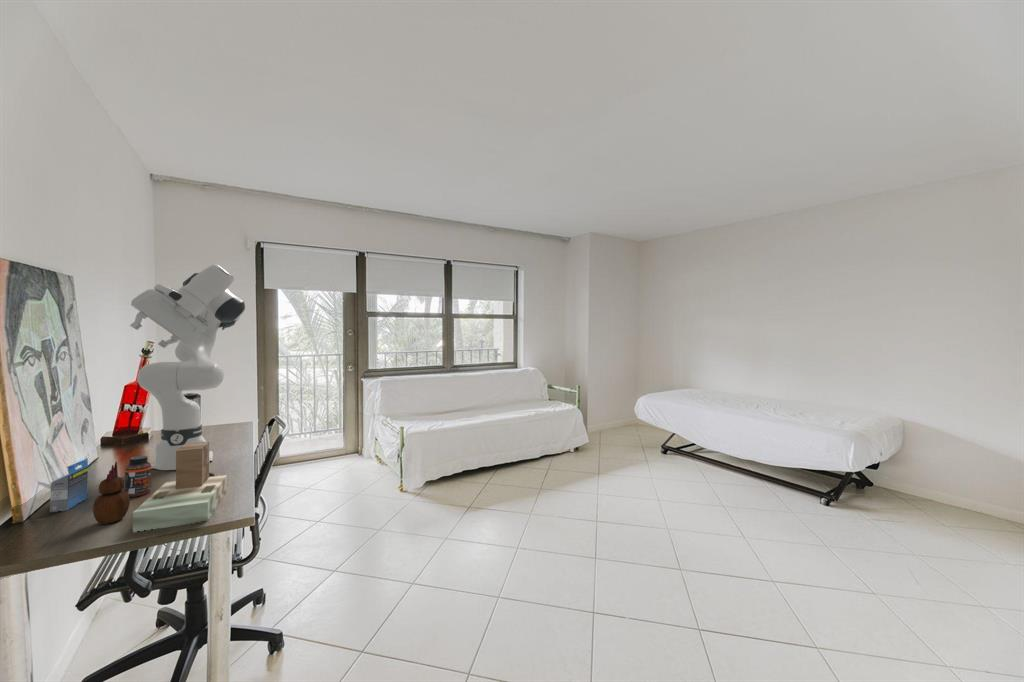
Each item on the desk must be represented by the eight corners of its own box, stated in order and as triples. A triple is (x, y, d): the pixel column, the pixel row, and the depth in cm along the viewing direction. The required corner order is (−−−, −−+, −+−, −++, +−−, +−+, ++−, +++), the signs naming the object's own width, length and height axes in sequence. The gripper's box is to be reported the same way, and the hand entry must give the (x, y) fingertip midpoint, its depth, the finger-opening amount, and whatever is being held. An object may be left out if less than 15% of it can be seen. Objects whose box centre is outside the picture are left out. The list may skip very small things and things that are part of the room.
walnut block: (184, 480, 120) (184, 443, 120) (209, 477, 123) (209, 441, 123) (175, 489, 113) (176, 450, 113) (201, 486, 116) (202, 448, 116)
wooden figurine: (114, 515, 107) (114, 459, 107) (134, 515, 107) (135, 460, 107) (86, 527, 101) (86, 467, 101) (108, 527, 100) (108, 468, 100)
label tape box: (70, 500, 117) (70, 459, 117) (88, 498, 118) (88, 457, 118) (48, 513, 109) (49, 468, 109) (68, 510, 110) (69, 466, 110)
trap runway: (166, 498, 119) (166, 481, 119) (226, 490, 125) (227, 474, 125) (132, 532, 98) (132, 512, 98) (207, 521, 104) (207, 502, 104)
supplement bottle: (134, 498, 119) (135, 460, 119) (119, 497, 120) (119, 459, 120) (156, 491, 124) (156, 455, 124) (141, 489, 126) (141, 453, 126)
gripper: (205, 321, 136) (170, 353, 130) (153, 280, 120) (110, 313, 113) (216, 327, 134) (181, 359, 127) (164, 285, 117) (121, 319, 111)
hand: (147, 337), depth 120 cm, fingers open, 8 cm apart
